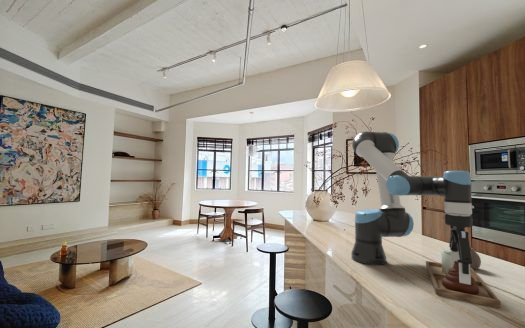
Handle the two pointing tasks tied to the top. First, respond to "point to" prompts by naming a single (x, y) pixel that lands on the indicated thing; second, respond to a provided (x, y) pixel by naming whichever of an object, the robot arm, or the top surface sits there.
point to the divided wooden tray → (482, 297)
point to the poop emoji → (453, 281)
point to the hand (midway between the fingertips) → (460, 276)
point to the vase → (474, 259)
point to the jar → (446, 261)
